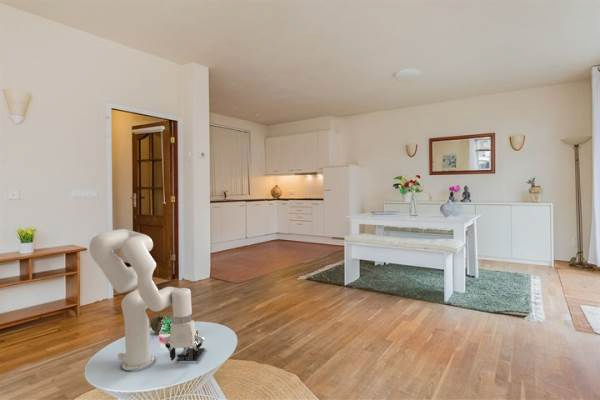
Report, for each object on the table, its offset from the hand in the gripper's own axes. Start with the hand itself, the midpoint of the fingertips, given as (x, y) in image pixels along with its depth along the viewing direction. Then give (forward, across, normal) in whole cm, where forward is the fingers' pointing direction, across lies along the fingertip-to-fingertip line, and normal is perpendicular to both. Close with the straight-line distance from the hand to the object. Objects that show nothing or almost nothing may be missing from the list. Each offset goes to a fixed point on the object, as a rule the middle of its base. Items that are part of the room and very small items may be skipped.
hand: (184, 358), depth 142 cm
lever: (-2, 0, +6) cm, 6 cm away
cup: (+3, -27, +33) cm, 43 cm away
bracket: (+4, -1, +9) cm, 10 cm away
